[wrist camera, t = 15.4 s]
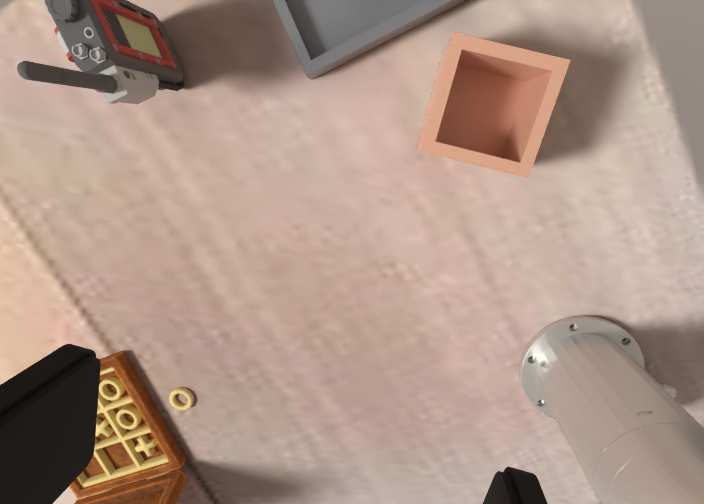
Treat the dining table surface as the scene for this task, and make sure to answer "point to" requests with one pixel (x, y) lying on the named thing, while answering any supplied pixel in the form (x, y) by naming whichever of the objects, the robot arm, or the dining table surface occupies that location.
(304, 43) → the charcoal tray
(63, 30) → the walkie-talkie
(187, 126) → the dining table surface
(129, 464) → the game set
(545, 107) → the terracotta box
